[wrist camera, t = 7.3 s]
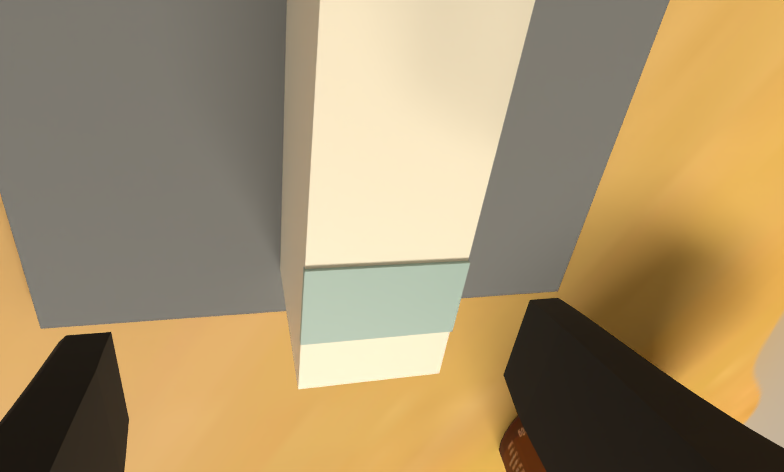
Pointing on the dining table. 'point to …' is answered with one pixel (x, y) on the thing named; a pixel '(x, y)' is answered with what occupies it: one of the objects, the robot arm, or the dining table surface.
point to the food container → (519, 450)
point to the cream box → (387, 174)
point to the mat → (259, 151)
